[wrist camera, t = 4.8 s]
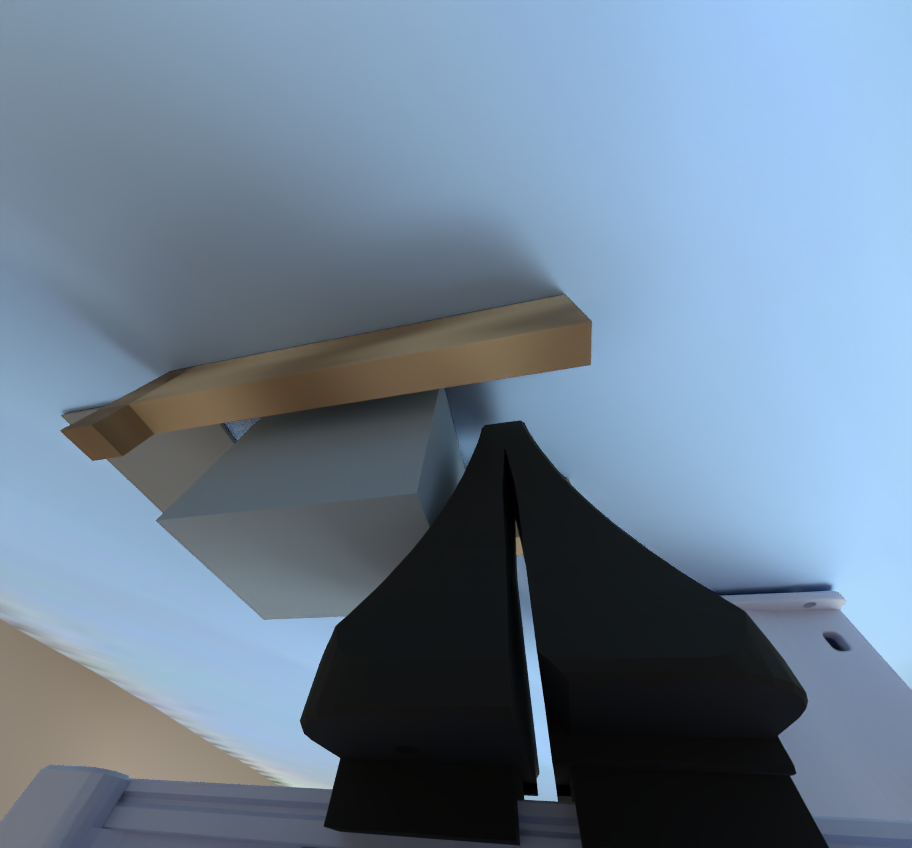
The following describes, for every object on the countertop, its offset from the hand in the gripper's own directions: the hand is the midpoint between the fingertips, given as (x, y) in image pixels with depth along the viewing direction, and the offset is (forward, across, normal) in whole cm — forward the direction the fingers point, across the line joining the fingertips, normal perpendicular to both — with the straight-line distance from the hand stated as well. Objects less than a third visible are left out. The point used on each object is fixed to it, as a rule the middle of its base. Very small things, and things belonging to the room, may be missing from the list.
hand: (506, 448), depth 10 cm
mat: (+1, +13, 0) cm, 13 cm away
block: (+1, +5, 0) cm, 5 cm away
